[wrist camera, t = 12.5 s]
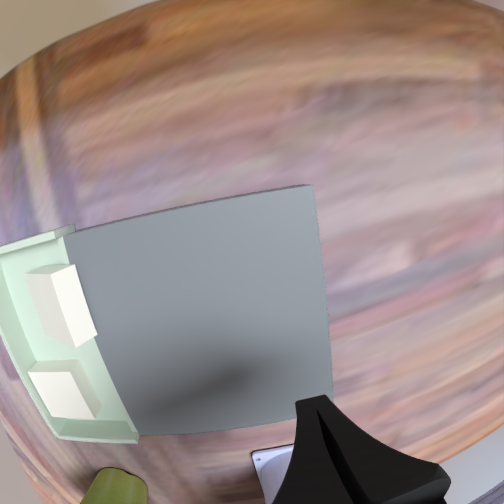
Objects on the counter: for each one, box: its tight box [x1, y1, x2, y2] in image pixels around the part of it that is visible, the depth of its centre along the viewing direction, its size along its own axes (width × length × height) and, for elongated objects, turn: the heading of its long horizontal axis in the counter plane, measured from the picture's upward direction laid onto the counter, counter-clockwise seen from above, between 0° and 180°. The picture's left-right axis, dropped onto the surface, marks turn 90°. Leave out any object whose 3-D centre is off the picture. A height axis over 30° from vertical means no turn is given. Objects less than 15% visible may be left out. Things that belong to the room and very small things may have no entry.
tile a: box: [28, 359, 101, 419], centre depth 21 cm, size 5×5×2 cm
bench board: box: [63, 184, 333, 436], centre depth 21 cm, size 17×16×2 cm
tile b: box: [24, 264, 98, 348], centre depth 18 cm, size 5×5×2 cm
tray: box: [0, 224, 140, 444], centre depth 20 cm, size 18×9×3 cm, turn 10°
